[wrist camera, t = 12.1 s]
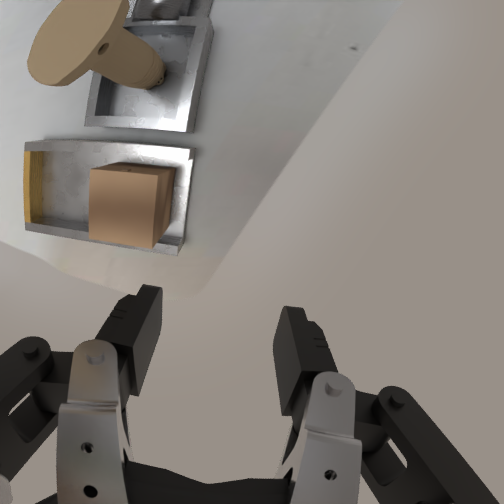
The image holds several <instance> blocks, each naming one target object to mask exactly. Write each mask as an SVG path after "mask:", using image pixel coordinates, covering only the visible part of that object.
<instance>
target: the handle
mask: <svg viewBox="0 0 504 504" xmlns="http://www.w3.org/2000/svg"><path fill="white" fill-rule="evenodd" d="M129 8H130V5H129V1H128V0H62V1H61V2H60V3H59V4H58V5H57V6H56V8H55V9H54V10H53V11H52V12H51V14H50V15H49V16H48V18H47V19H46V20H45V22H44V23H43V25H42V26H41V28H40V29H39V31H38V33H37V35H36V37H35V39H34V42H33V45H32V47H31V50H30V54H29V57H28V60H27V65H28V70H29V73H30V74H31V76H32V77H33V78H34V79H35V80H36V81H37V82H39V83H41V84H44V85H49V86H66V85H69V84H70V83H72V82H73V81H75V80H76V79H78V78H79V77H81V76H82V75H83V74H85V73H86V72H87V71H88V70H92V71H95V72H97V73H99V74H101V75H103V76H105V77H107V78H108V79H110V80H112V81H114V82H116V83H118V84H121V85H123V86H126V87H131V88H138V89H143V90H149V89H150V88H152V87H153V86H156V85H161V84H162V83H163V82H164V73H165V70H166V69H167V68H166V65H165V64H164V62H162V60H161V58H160V56H159V55H158V53H157V52H156V51H155V50H154V49H153V48H152V47H151V46H150V45H149V44H148V43H146V42H145V41H143V40H142V39H140V38H139V37H137V36H135V35H134V34H132V33H130V32H129V31H127V30H126V29H124V28H123V24H124V22H125V19H126V16H127V14H128V11H129Z"/></svg>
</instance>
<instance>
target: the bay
mask: <svg viewBox="0 0 504 504" xmlns="http://www.w3.org/2000/svg"><path fill="white" fill-rule="evenodd" d="M195 150H196V148H190V147H181V146H172V145H162V144H151V143H138V142H123V141H104V140H38V141H30V142H25V150H24V177H23V189H24V216H25V230H27V231H33V232H38V233H44V234H49V235H55V236H60V237H66V238H72V239H77V240H83V241H89V242H95V243H101V244H106V245H112V246H118V247H124V248H130V249H136V250H142V251H148V252H155V253H161V254H167V255H173V256H177V255H178V253H179V251H180V249H181V247H182V245H183V244H184V235H185V226H186V217H187V208H188V200H189V192H190V185H191V177H192V170H193V163H194V157H195ZM116 162H127V163H138V164H149V165H158V166H167V167H175V174H174V182H173V190H172V199H171V209H170V219H169V227H168V229H167V230H166V231H165V233H164V234H163V235H162V237H161V238H160V239H159V240H158V242H157V243H156V245H155V246H154V247H153V249H148V248H142V247H136V246H130V245H123V244H117V243H111V242H105V241H99V240H93V239H89V182H90V169H93V168H96V167H100V166H104V165H108V164H112V163H116Z"/></svg>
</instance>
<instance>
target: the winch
mask: <svg viewBox="0 0 504 504" xmlns="http://www.w3.org/2000/svg"><path fill="white" fill-rule="evenodd" d="M212 1H213V0H137V1H136V4H135V6H134V9H133V12H132V15H131V18H126V19H125V22H124V24H123V28H124V29H126V30H127V31H129V32H130V33H132V34H134V35H135V36H137V37H139V38H140V39H142V40H143V41H145V42H146V43H148V44H149V45H150V46H151V47H152V48H153V49H154V50H155V51H156V52H157V53H158V55H159V56H160V58H161V60H162V62H164V64H165V65H166V68H167V69H166V70H165V73H164V82H163V83H162V84H161V85H156V86H153V87H152V88H150V89H149V90H143V89H138V88H131V87H126V86H123V85H121V84H118V83H116V82H114V81H112V80H110V79H108V78H107V77H105V76H103V75H101V74H99V73H97V72H95V71H94V73H93V77H92V82H91V87H90V93H89V98H88V104H87V111H86V117H85V125H84V126H99V127H129V128H146V129H159V130H171V131H181V132H190V133H193V131H194V125H195V120H196V114H197V109H198V103H199V98H200V93H201V88H202V83H203V78H204V73H205V69H206V64H207V60H208V55H209V51H210V47H211V43H212V38H213V34H214V30H213V27H212V23H211V19H210V17H208V15H209V12H210V8H211V5H212Z"/></svg>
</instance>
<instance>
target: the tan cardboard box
mask: <svg viewBox="0 0 504 504" xmlns="http://www.w3.org/2000/svg"><path fill="white" fill-rule="evenodd" d="M174 174H175V167H167V166H158V165H149V164H138V163H127V162H116V163H112V164H108V165H104V166H100V167H96V168H93V169H90V182H89V239H93V240H99V241H105V242H111V243H117V244H123V245H130V246H136V247H142V248H148V249H153V247H154V246H155V245H156V243H157V242H158V240H159V239H160V238H161V237H162V235H163V234H164V233H165V231H166V230H167V229H168V227H169V219H170V209H171V199H172V190H173V182H174Z"/></svg>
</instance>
